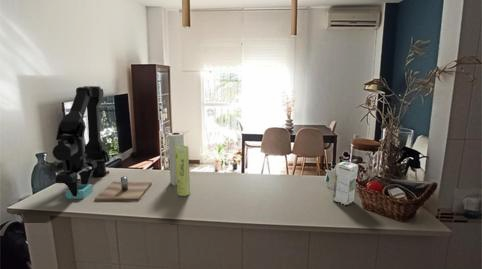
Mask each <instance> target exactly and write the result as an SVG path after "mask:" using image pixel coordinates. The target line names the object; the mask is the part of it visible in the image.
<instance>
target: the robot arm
mask: <svg viewBox="0 0 482 269" xmlns="http://www.w3.org/2000/svg"><path fill="white" fill-rule="evenodd" d="M104 95H105V94H104V89H103V88H101V86H99V85H98V86H97V85H96V86H94V85H91V86H89V85H88V86H87V85H86V86H85V85H84V86H78V87H76V89H75V95H74V96H75V97H74V98H73V102H72V103H71V107H70V109H69V111H68V113H66V114H65V115H63V117H62V119H61V120H60V122H59V124H58V128H57V129H58V130H57V132H56V141H57V145H55V146H54V147H53V149H52V155H53V157H54V158H55V159H56V161H55V160H54V161H53V162H50V163H49V171H50V172H51V173H52V172H53V173H54V174H56V175H55V176H54V183H55V184H64V185H65V186H66V187H67V189H69V190H70V192H71V193H72V195H73V196H77V192H78V187H79V184H89V182H90V181H91V178H104V177H105V176H107V175H108V174H109V173H110V171H109V170H108V171H107V167H106V166H107V165H106V163H108V162H110V154H109V152H108V150H107V149H106V145H105V144H106V143H104V142H103V140H102V138H101V135H102V134H101V122H100V121H101V120H100V106H101V105H102V103H103V100H104V99H103V97H104ZM86 112H87V114H86ZM85 114H86V115H87V126H86V122H85V121H84V117H85ZM86 128H87V130H88V131H87V132H88V133H87V134H88V142H87V143H86V144H85V146H84V140H83V138H84V135H85V131H86ZM60 171H61V172H60ZM58 172H60V173H58ZM57 173H58V174H57ZM80 182H81V183H80Z"/></svg>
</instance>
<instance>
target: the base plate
mask: <svg viewBox="0 0 482 269" xmlns="http://www.w3.org/2000/svg"><path fill="white" fill-rule="evenodd" d="M152 184H153V183H152V181H151V182H150V181H149V182H148V181H128V190H127V191H122V188H121V181H112V182H111V183H110V184H108V186H107V187H106V188H104V189H103V190H102V191H101V192H100V193H98V195H96V196H95V197H94V201H96V202H139V201H140V200H141V199H142V198H143V196H144V195H145V194H146V192H148V190H149V189H150V188H151V186H152Z"/></svg>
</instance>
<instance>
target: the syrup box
mask: <svg viewBox="0 0 482 269" xmlns="http://www.w3.org/2000/svg"><path fill="white" fill-rule="evenodd" d="M358 171H359V164H356V163H354V162H350V161H349V162H348V161H341V162H339V163H337V164H336V166H335V174H334V186H333V196H332V201H333V200H336V201H338V202H341V203H344V204H349V203H350V202H352V201H354V202H355V198H356V197H355V196H356V189H357V182H356V179H358Z"/></svg>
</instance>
